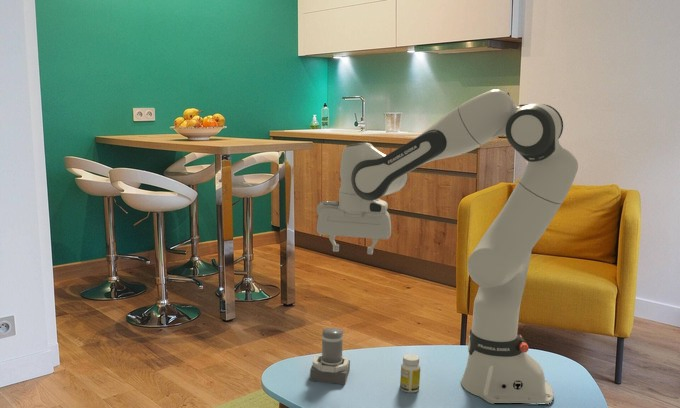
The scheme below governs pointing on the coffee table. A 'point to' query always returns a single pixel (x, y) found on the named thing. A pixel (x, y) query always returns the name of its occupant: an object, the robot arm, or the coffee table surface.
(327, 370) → the octagonal ring tray
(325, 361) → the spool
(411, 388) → the supplement bottle
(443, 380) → the coffee table surface
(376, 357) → the coffee table surface
